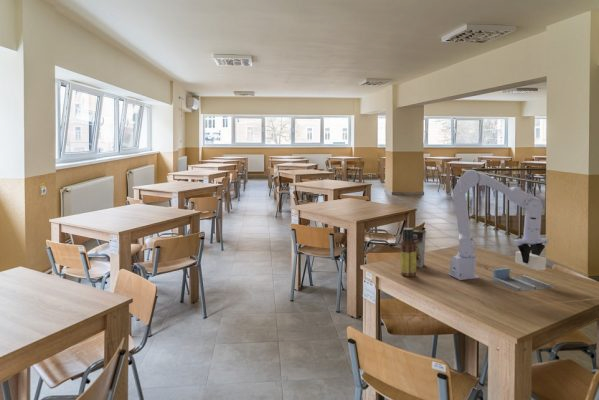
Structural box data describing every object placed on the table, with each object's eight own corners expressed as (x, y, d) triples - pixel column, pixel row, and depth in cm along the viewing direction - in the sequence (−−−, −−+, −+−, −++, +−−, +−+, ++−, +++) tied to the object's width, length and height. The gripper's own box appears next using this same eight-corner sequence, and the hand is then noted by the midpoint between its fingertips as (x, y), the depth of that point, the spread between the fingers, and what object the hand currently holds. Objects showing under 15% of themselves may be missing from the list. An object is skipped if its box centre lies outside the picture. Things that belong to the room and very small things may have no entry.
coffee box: (401, 265, 205) (402, 230, 203) (404, 262, 211) (405, 228, 209) (421, 268, 201) (422, 232, 199) (424, 264, 207) (426, 229, 205)
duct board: (516, 292, 168) (517, 280, 167) (488, 280, 183) (488, 269, 183) (556, 288, 172) (557, 277, 172) (525, 276, 188) (526, 266, 187)
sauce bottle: (414, 273, 193) (416, 227, 190) (417, 277, 187) (418, 230, 184) (399, 272, 193) (400, 226, 191) (401, 277, 187) (402, 229, 185)
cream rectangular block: (537, 270, 172) (538, 258, 171) (514, 262, 183) (515, 251, 183) (545, 269, 172) (546, 258, 172) (522, 261, 184) (523, 251, 183)
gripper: (524, 230, 170) (521, 266, 172) (555, 229, 174) (553, 263, 176) (510, 227, 177) (508, 261, 179) (541, 226, 181) (539, 259, 182)
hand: (529, 262), depth 178 cm, fingers closed on cream rectangular block, 4 cm apart
